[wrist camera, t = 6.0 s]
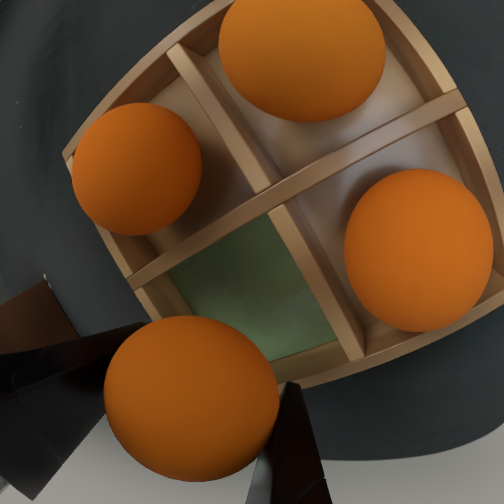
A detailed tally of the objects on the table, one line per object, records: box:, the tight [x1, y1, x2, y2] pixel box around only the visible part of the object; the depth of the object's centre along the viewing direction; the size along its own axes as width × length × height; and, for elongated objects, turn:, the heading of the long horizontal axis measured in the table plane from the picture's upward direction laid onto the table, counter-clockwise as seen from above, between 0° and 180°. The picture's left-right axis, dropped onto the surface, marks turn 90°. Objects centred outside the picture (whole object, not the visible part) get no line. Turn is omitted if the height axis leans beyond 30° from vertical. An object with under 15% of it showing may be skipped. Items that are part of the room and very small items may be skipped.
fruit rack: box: [62, 0, 504, 395], centre depth 10 cm, size 14×14×3 cm
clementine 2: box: [104, 315, 280, 482], centre depth 7 cm, size 5×5×5 cm
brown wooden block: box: [0, 281, 80, 354], centre depth 15 cm, size 7×7×10 cm
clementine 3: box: [219, 0, 386, 123], centre depth 6 cm, size 5×5×5 cm
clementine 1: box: [72, 103, 202, 236], centre depth 9 cm, size 5×5×5 cm
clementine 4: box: [344, 169, 494, 332], centre depth 7 cm, size 5×5×5 cm
